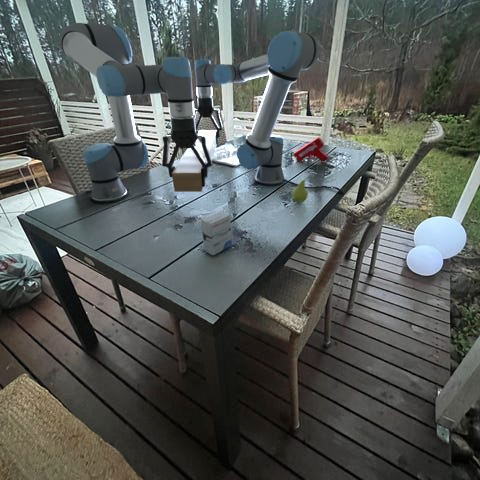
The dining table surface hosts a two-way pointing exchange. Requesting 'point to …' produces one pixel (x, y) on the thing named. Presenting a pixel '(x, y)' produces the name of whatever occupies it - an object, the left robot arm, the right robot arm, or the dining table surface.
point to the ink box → (216, 232)
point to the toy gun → (312, 151)
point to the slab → (193, 165)
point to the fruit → (300, 192)
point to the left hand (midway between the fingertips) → (189, 185)
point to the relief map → (226, 155)
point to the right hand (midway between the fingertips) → (208, 143)
